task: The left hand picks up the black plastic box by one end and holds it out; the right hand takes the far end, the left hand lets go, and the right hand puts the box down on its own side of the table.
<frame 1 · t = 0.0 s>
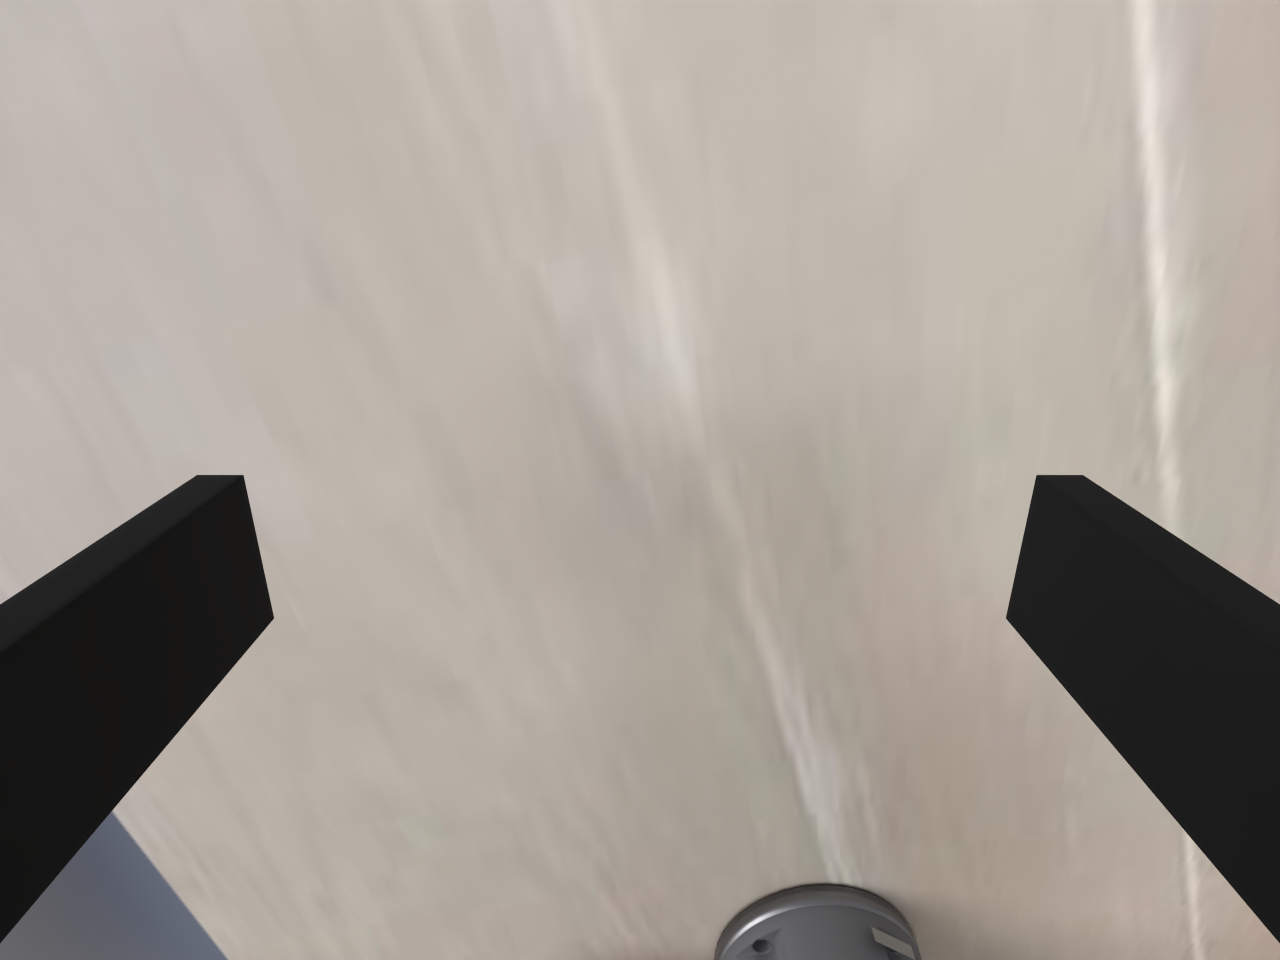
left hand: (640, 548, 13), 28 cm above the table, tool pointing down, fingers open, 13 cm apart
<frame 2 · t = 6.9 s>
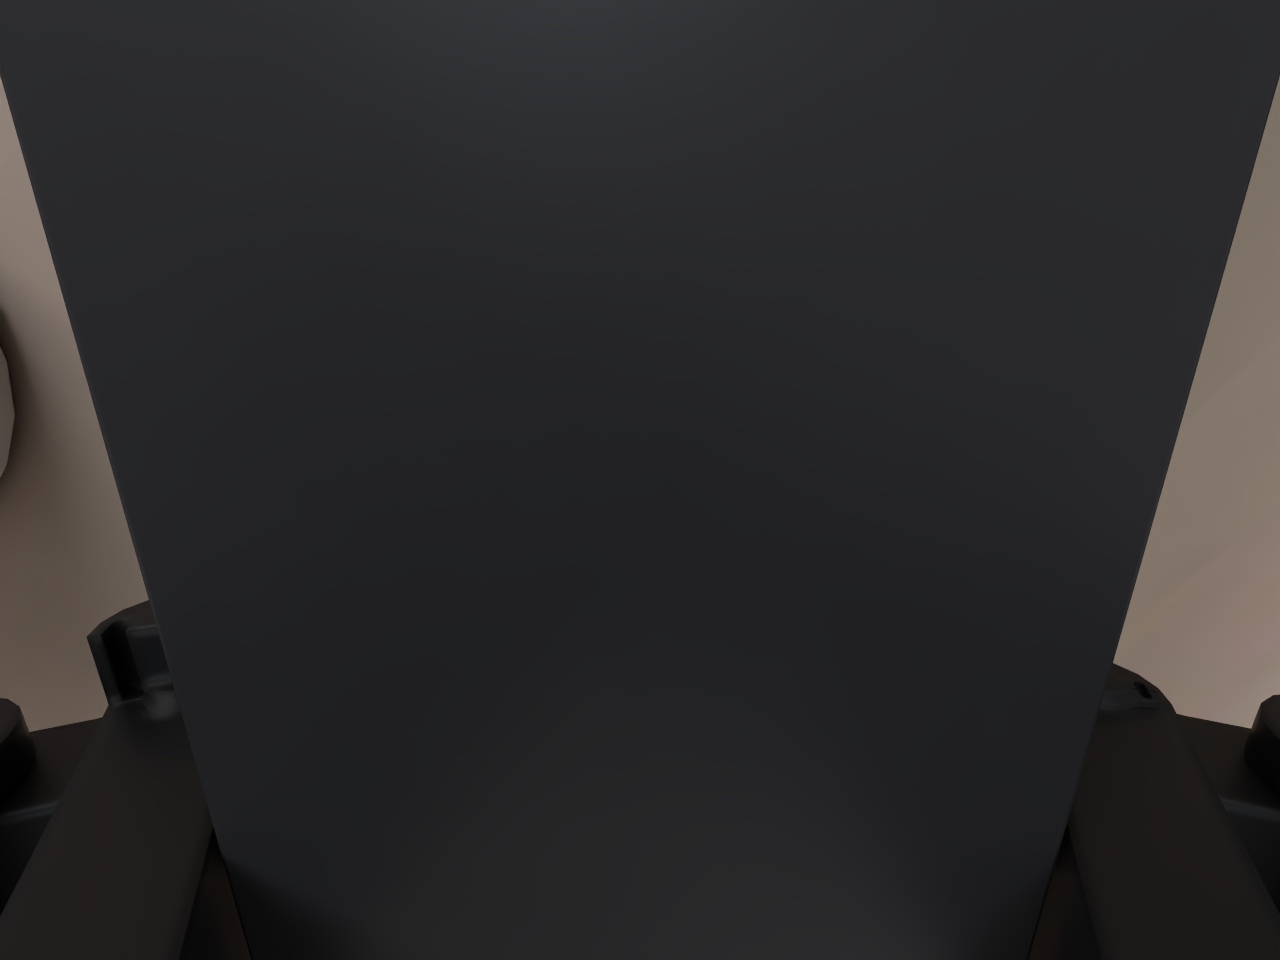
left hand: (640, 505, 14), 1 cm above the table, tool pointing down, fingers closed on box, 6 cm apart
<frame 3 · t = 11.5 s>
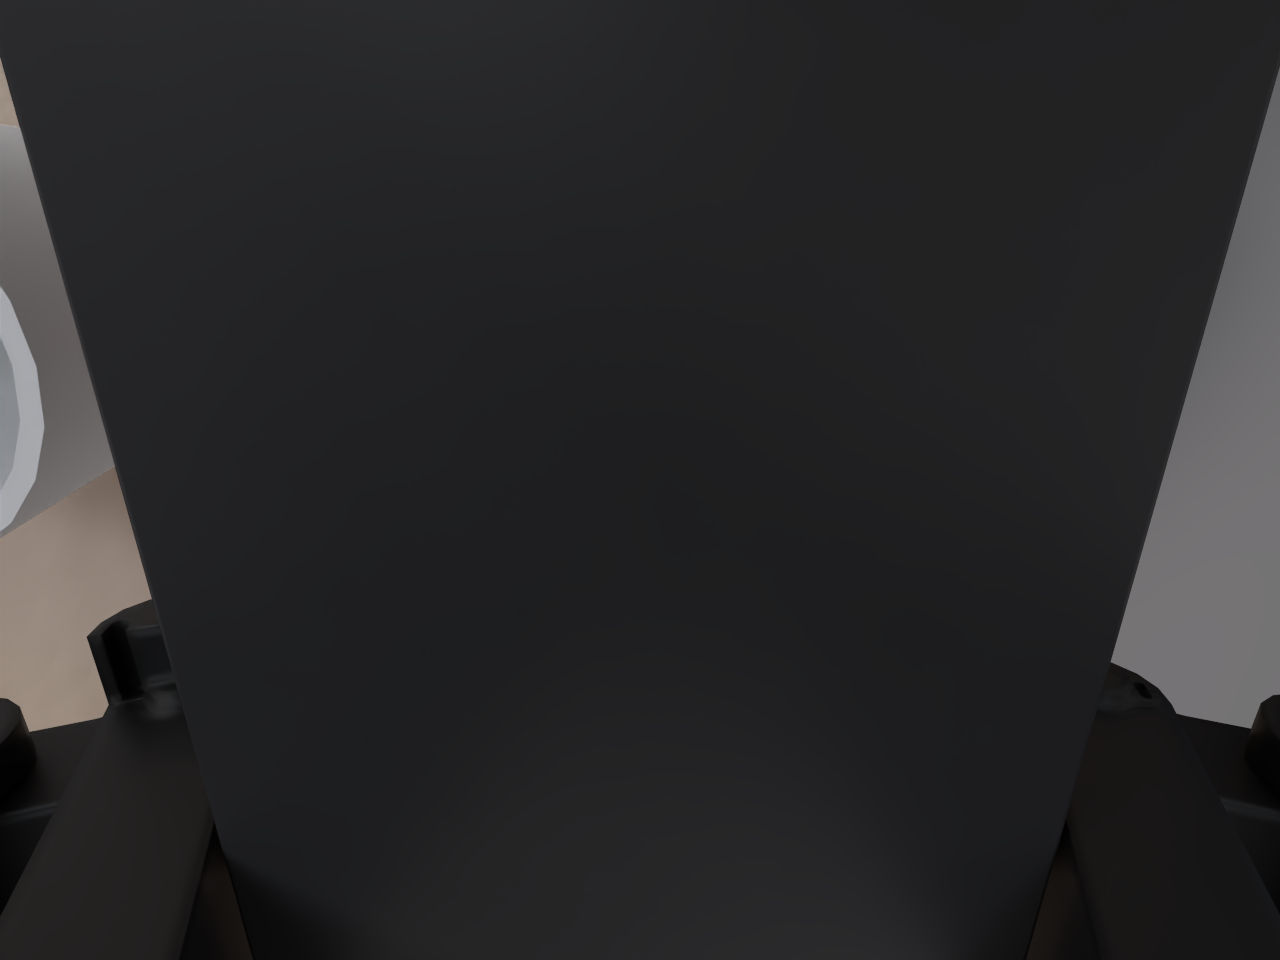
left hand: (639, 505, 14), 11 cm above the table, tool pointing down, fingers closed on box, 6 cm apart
mug: (122, 299, 23), on the table
when the left hand's fingers open (11 cm above the table, at t = 12.7 s): box stays where it is, held by the right hand.
when the right hand's fingers open (6 cm above the table, at t = 17.7 s): box stays where it is, on the table.
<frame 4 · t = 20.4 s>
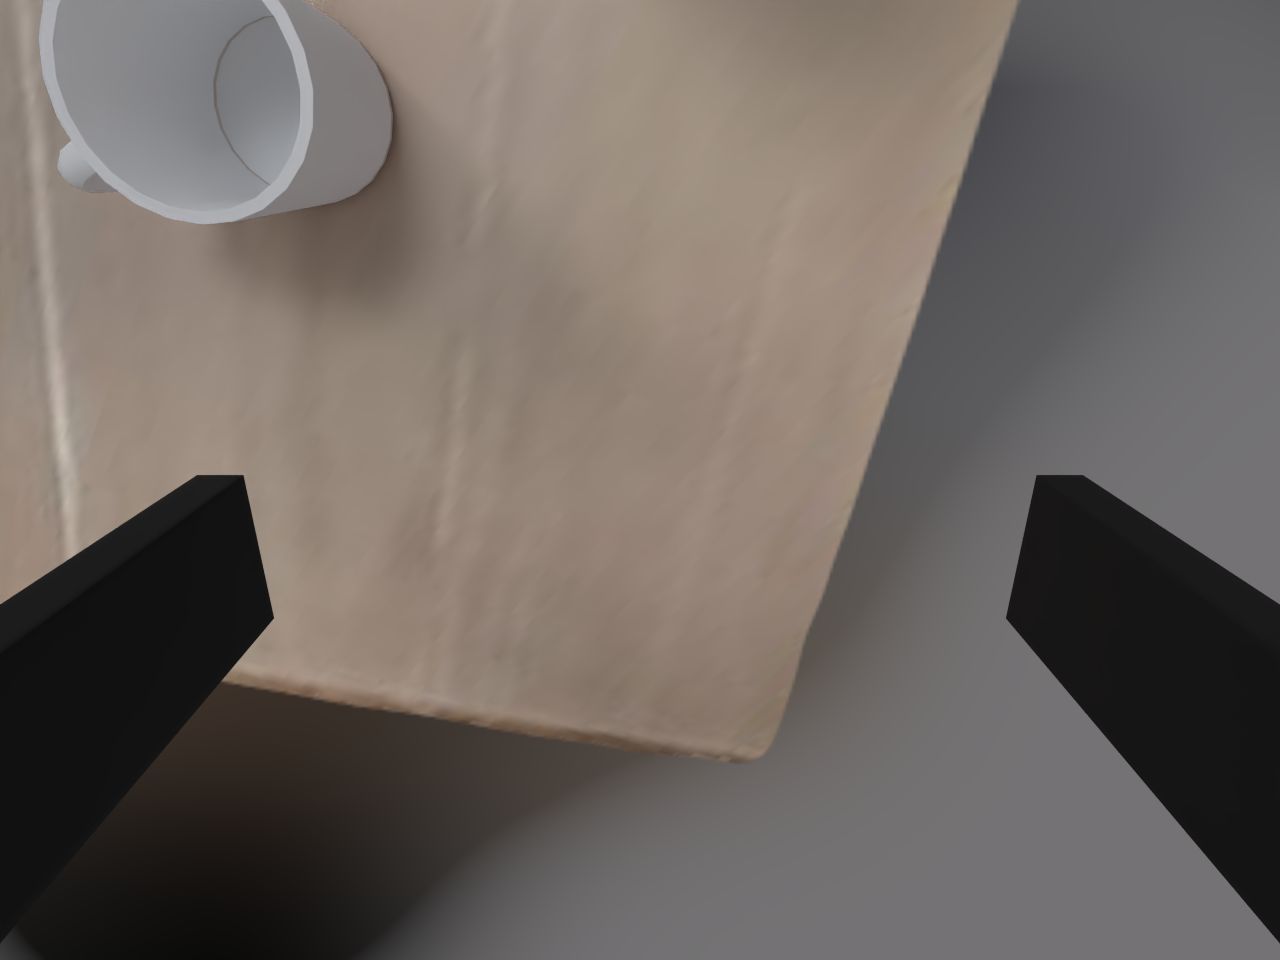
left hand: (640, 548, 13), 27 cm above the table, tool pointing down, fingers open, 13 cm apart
mug: (291, 123, 35), on the table
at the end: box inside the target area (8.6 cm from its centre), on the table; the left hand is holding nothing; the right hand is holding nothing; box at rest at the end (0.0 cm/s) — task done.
